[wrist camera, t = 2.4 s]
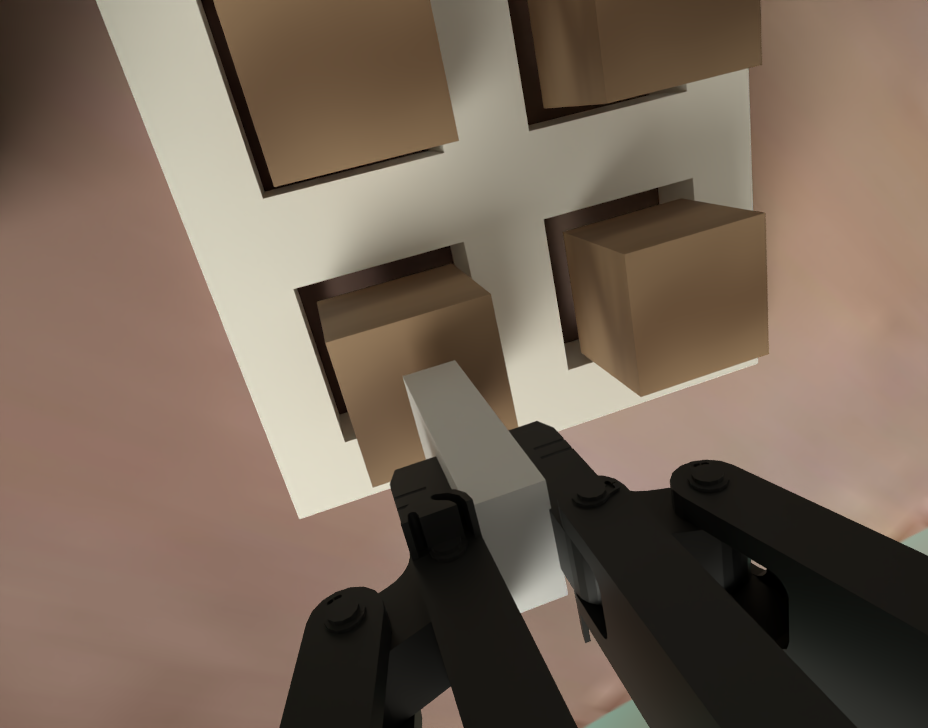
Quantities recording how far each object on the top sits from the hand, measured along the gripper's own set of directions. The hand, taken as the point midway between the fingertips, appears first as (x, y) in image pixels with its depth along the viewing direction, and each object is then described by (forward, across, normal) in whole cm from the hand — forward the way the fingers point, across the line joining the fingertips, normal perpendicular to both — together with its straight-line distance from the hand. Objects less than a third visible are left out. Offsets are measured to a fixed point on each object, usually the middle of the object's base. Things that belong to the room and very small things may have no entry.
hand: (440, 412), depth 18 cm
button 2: (+6, 0, +9) cm, 11 cm away
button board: (+8, +4, +5) cm, 10 cm away
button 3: (+6, +9, 0) cm, 11 cm away
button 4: (+6, +9, +9) cm, 14 cm away
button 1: (+6, 0, 0) cm, 6 cm away
